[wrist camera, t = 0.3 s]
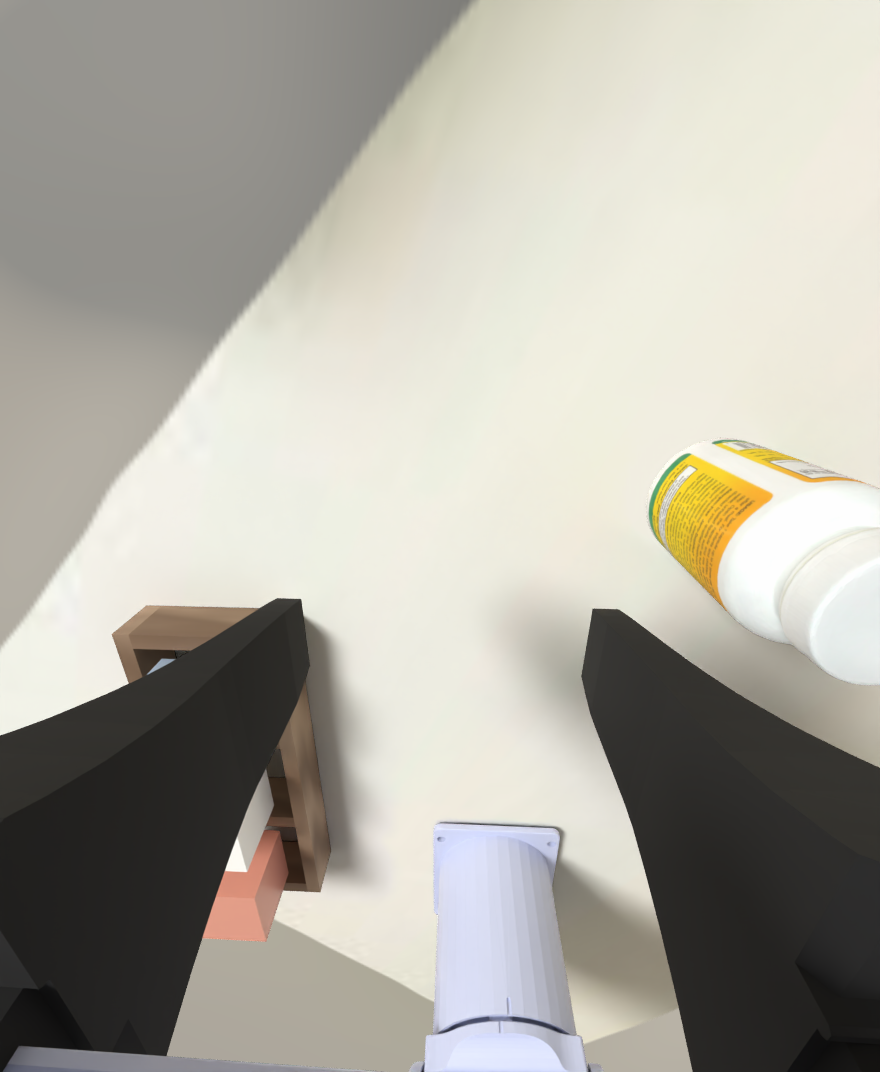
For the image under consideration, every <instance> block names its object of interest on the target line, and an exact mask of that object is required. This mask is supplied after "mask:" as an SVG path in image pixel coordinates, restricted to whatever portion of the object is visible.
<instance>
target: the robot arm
mask: <svg viewBox="0 0 880 1072" xmlns="http://www.w3.org/2000/svg"><path fill="white" fill-rule="evenodd" d="M309 666H310V664H309V656H308V649H307V641H306V633H305V625H304V618H303V610H302V602H301V599H281V598H277V599H275V600H273V601H271V602H269V603H268V604H266V605H264V606H263V607H261V608H259V609H258V610H256V611H255V612H253V613H251V614H250V615H248V616H247V617H245V618H243V619H242V620H240V621H239V622H237V623H236V624H234V625H232V626H231V627H229V628H228V629H226V630H224V631H223V632H221V633H220V634H218V635H216V636H215V637H213V638H212V639H210V640H208V641H207V642H205V643H203V644H201V645H200V646H198V647H196V648H195V649H193V650H191V651H189V652H188V653H186V654H184V655H182V656H181V657H179V658H177V659H176V660H174V661H172V662H170V663H169V664H167V665H165V666H163V667H161V668H159V669H157V670H155V671H153V672H152V673H150V674H148V675H146V676H144V677H142V678H140V679H138V680H135V681H133V682H131V683H129V684H127V685H125V686H123V687H121V688H119V689H117V690H115V691H112V692H110V693H108V694H106V695H103V696H101V697H99V698H96V699H94V700H91V701H89V702H87V703H84V704H82V705H79V706H77V707H75V708H72V709H70V710H67V711H65V712H63V713H60V714H58V715H55V716H53V717H50V718H48V719H45V720H43V721H40V722H37V723H34V724H32V725H29V726H26V727H23V728H21V729H18V730H15V731H13V732H10V733H7V734H4V735H1V736H0V1072H382V1071H367V1070H353V1069H338V1068H325V1067H311V1066H297V1065H283V1064H269V1063H254V1062H240V1061H226V1060H212V1059H197V1058H184V1057H183V1058H182V1057H169V1056H167V1052H168V1048H169V1045H170V1041H171V1038H172V1035H173V1032H174V1028H175V1025H176V1022H177V1018H178V1015H179V1012H180V1008H181V1005H182V1002H183V998H184V995H185V992H186V988H187V985H188V981H189V978H190V974H191V972H192V968H193V965H194V962H195V959H196V956H197V953H198V950H199V947H200V944H201V941H202V938H203V934H204V931H205V928H206V925H207V922H208V919H209V916H210V913H211V910H212V907H213V904H214V901H215V898H216V895H217V892H218V889H219V886H220V884H221V881H222V878H223V875H224V872H225V869H226V866H227V863H228V861H229V858H230V855H231V852H232V849H233V847H234V844H235V841H236V839H237V836H238V833H239V831H240V828H241V825H242V822H243V820H244V817H245V814H246V812H247V809H248V807H249V804H250V802H251V800H252V797H253V795H254V793H255V790H256V788H257V786H258V784H259V782H260V780H261V778H262V776H263V774H264V772H265V770H266V767H267V765H268V763H269V761H270V759H271V757H272V755H273V753H274V751H275V749H276V747H277V745H278V743H279V741H280V739H281V737H282V735H283V732H284V730H285V728H286V726H287V724H288V722H289V720H290V718H291V716H292V714H293V711H294V709H295V707H296V705H297V703H298V700H299V697H300V694H301V691H302V688H303V686H304V682H305V679H306V676H307V673H308V669H309ZM582 680H583V685H584V689H585V694H586V698H587V702H588V706H589V710H590V714H591V717H592V719H593V722H594V725H595V728H596V730H597V733H598V736H599V738H600V741H601V743H602V746H603V749H604V751H605V754H606V756H607V759H608V762H609V764H610V767H611V769H612V772H613V775H614V777H615V780H616V782H617V785H618V788H619V790H620V793H621V795H622V798H623V801H624V803H625V806H626V809H627V812H628V815H629V818H630V821H631V823H632V826H633V830H634V833H635V837H636V841H637V844H638V848H639V851H640V855H641V858H642V862H643V866H644V869H645V873H646V876H647V880H648V884H649V888H650V892H651V896H652V899H653V903H654V907H655V911H656V915H657V919H658V923H659V926H660V930H661V934H662V939H663V943H664V947H665V951H666V955H667V960H668V964H669V968H670V972H671V976H672V981H673V985H674V989H675V993H676V997H677V1002H678V1006H679V1010H680V1015H681V1020H682V1024H683V1029H684V1033H685V1038H686V1042H687V1047H688V1052H689V1057H690V1061H691V1066H692V1070H693V1072H880V768H879V767H876V766H874V765H872V764H870V763H868V762H866V761H863V760H861V759H859V758H857V757H855V756H853V755H850V754H848V753H846V752H844V751H842V750H840V749H838V748H836V747H834V746H832V745H830V744H828V743H826V742H824V741H822V740H820V739H818V738H816V737H814V736H812V735H810V734H808V733H806V732H804V731H802V730H800V729H799V728H797V727H795V726H793V725H791V724H789V723H787V722H785V721H784V720H782V719H780V718H778V717H777V716H775V715H773V714H771V713H770V712H768V711H766V710H764V709H763V708H761V707H759V706H757V705H756V704H754V703H752V702H750V701H749V700H747V699H745V698H744V697H742V696H741V695H739V694H737V693H736V692H734V691H733V690H731V689H729V688H728V687H726V686H725V685H723V684H722V683H720V682H719V681H717V680H716V679H714V678H713V677H711V676H710V675H708V674H707V673H705V672H704V671H702V670H701V669H699V668H698V667H697V666H695V665H694V664H692V663H691V662H689V661H688V660H687V659H685V658H684V657H682V656H681V655H680V654H678V653H677V652H676V651H674V650H673V649H672V648H670V647H669V646H668V645H666V644H665V643H664V642H662V641H661V640H660V639H658V638H657V637H656V636H654V635H653V634H652V633H650V632H649V631H648V630H646V629H645V628H644V627H642V626H641V625H640V624H638V623H637V622H636V621H634V620H633V619H632V618H630V617H629V616H627V615H626V614H625V613H623V612H621V611H620V610H618V609H593V611H592V617H591V623H590V629H589V635H588V640H587V646H586V652H585V658H584V664H583V670H582ZM559 842H560V835H559V831H558V830H556V829H554V828H538V827H515V826H492V825H469V824H446V823H440V824H437V825H436V826H434V912H435V913H436V914H437V915H438V926H437V951H436V976H435V1001H434V1025H433V1026H434V1027H433V1035H427V1036H426V1048H425V1049H426V1050H425V1062H415V1063H413V1064H412V1066H411V1068H410V1070H409V1072H604V1070H603V1068H602V1067H601V1065H600V1064H597V1063H588V1067H587V1064H586V1058H585V1052H584V1046H583V1040H582V1037H581V1036H579V1035H577V1034H576V1028H575V1022H574V1017H573V1011H572V1005H571V999H570V993H569V987H568V981H567V975H566V969H565V963H564V957H563V951H562V945H561V939H560V933H559V927H558V921H557V915H556V909H555V903H554V897H553V891H552V884H553V878H554V872H555V866H556V860H557V854H558V848H559Z"/></svg>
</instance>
